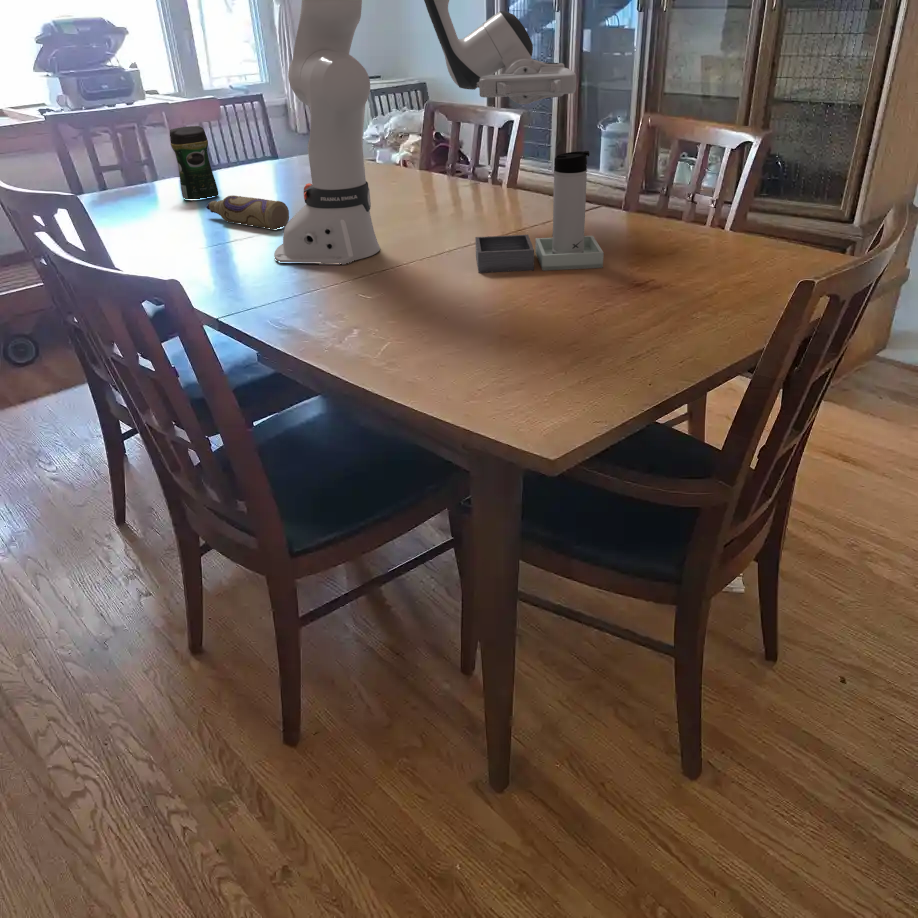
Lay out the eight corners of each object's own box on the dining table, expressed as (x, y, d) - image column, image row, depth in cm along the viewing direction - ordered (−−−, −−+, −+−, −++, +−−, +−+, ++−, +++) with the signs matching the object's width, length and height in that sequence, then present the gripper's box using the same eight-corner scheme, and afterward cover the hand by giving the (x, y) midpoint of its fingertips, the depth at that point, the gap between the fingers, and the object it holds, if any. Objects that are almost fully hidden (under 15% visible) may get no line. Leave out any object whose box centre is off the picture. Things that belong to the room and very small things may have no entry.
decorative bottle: (293, 226, 192) (289, 198, 188) (270, 234, 187) (265, 205, 183) (222, 213, 205) (217, 187, 201) (199, 221, 200) (193, 194, 196)
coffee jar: (214, 192, 226) (200, 122, 216) (222, 198, 220) (208, 126, 210) (179, 198, 222) (164, 127, 212) (186, 203, 216) (171, 130, 206)
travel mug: (583, 261, 157) (588, 154, 147) (550, 260, 158) (552, 154, 148) (586, 251, 162) (590, 148, 152) (554, 250, 164) (556, 148, 153)
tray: (542, 270, 156) (542, 255, 154) (535, 252, 166) (535, 238, 164) (602, 267, 156) (603, 252, 154) (592, 249, 166) (592, 235, 164)
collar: (478, 272, 156) (478, 252, 154) (475, 256, 165) (475, 237, 163) (533, 270, 156) (534, 250, 154) (528, 253, 165) (528, 234, 163)
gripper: (475, 67, 170) (478, 74, 158) (570, 62, 170) (581, 69, 158) (476, 99, 173) (479, 108, 161) (569, 94, 173) (580, 103, 161)
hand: (530, 89), depth 160 cm, fingers open, 8 cm apart
